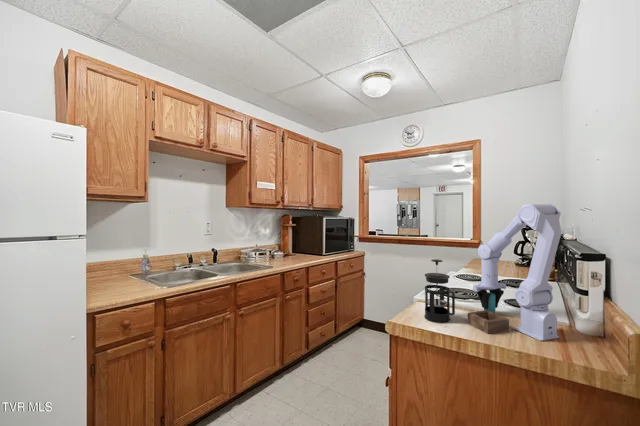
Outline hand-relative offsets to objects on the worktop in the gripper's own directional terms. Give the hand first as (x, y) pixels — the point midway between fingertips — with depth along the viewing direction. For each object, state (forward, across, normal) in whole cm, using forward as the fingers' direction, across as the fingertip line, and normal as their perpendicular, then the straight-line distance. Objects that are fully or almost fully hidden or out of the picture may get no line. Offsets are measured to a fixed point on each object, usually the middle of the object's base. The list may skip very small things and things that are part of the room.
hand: (489, 307), depth 113 cm
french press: (+3, +23, -1) cm, 23 cm away
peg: (+2, 0, 0) cm, 2 cm away
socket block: (+2, +11, +10) cm, 15 cm away
